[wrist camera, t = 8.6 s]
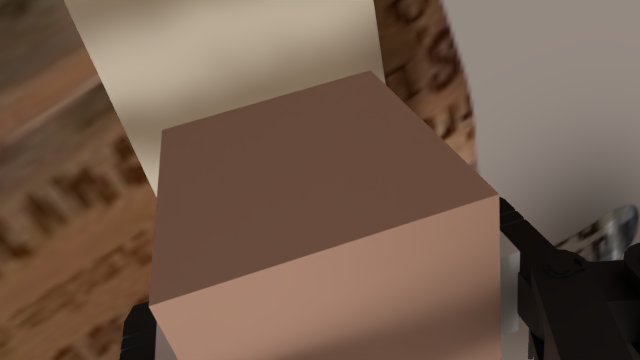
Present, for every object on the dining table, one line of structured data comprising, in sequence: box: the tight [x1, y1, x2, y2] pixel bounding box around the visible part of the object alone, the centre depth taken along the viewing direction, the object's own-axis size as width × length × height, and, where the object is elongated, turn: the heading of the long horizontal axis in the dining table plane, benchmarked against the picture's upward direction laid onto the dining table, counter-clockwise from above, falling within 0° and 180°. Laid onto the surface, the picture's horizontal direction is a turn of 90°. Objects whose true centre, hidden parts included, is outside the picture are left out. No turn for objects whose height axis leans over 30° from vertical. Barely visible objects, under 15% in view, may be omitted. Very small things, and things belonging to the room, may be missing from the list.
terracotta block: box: [149, 70, 501, 360], centre depth 15 cm, size 7×7×8 cm
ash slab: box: [64, 0, 386, 197], centre depth 28 cm, size 14×14×3 cm
